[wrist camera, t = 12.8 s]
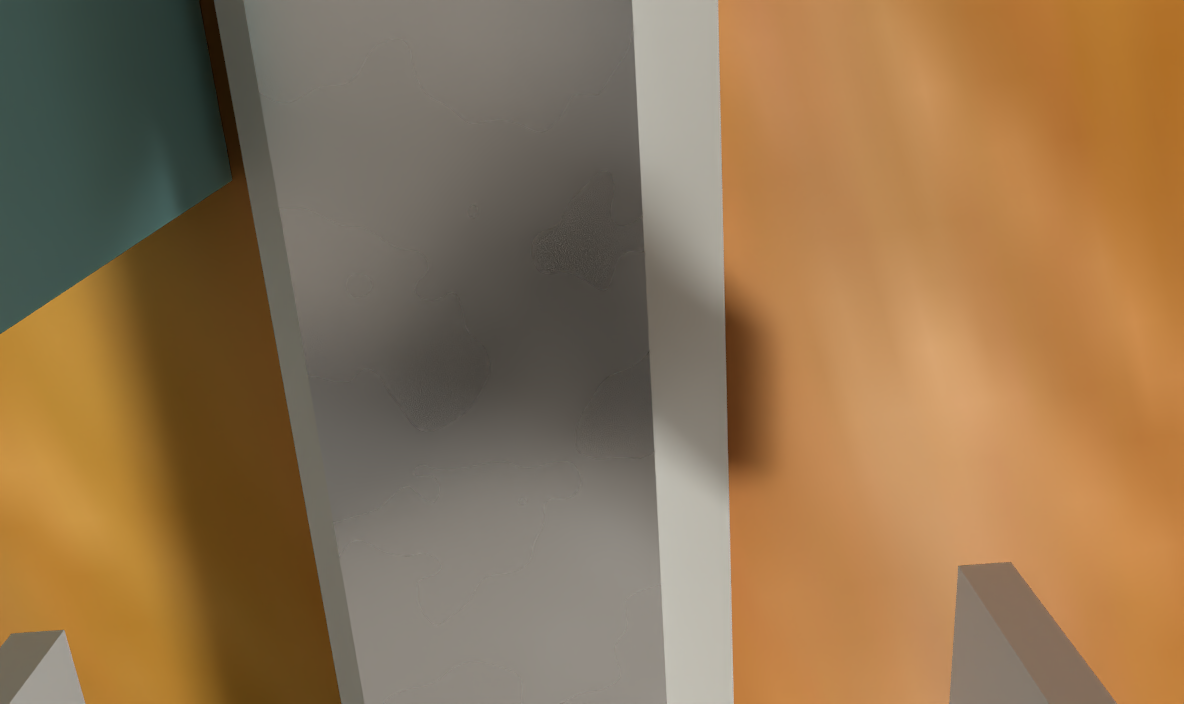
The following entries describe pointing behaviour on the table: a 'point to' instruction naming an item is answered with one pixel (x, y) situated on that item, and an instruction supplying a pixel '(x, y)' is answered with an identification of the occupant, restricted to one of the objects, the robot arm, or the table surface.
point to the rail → (475, 337)
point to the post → (98, 136)
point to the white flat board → (675, 323)
